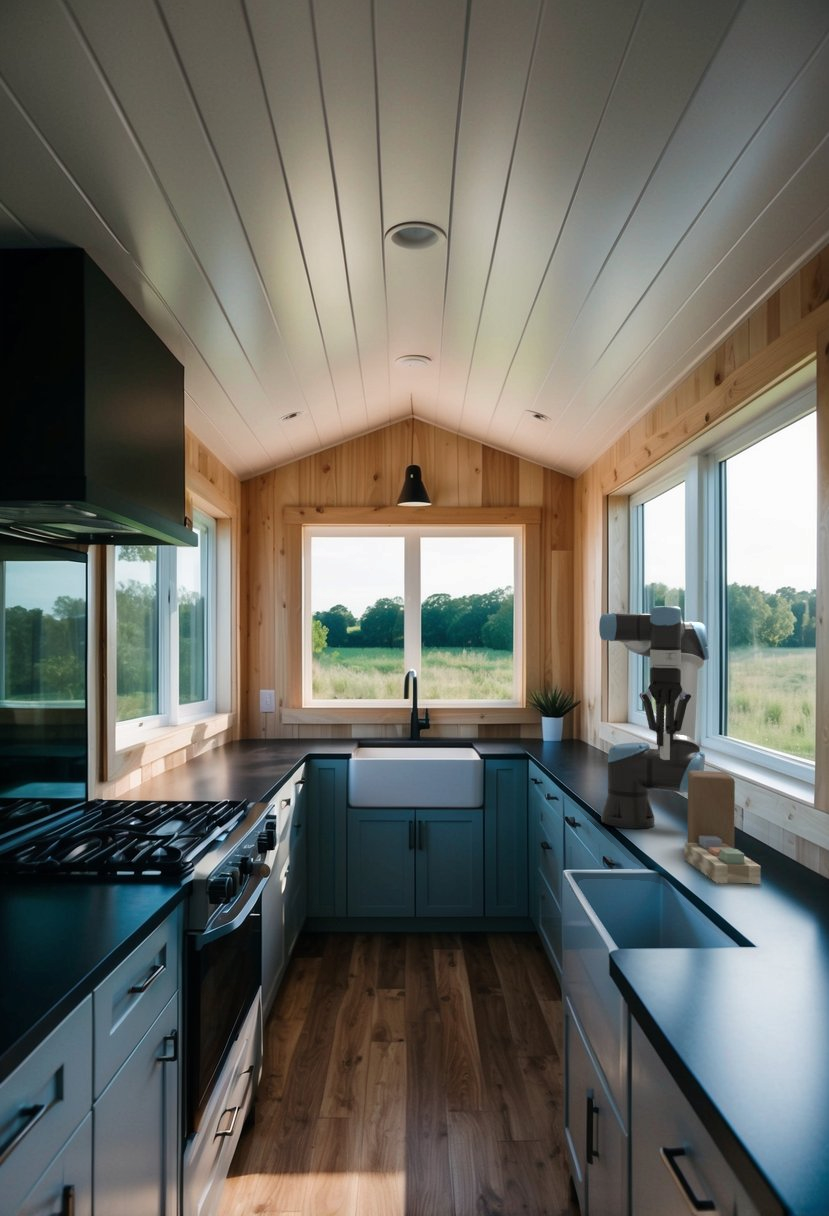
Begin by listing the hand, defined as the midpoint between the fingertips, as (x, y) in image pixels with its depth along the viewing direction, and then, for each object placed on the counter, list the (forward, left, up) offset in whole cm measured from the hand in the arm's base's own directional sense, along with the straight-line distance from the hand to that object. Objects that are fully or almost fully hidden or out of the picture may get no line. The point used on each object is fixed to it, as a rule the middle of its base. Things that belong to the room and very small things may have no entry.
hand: (664, 758), depth 199 cm
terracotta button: (+16, +8, -23) cm, 29 cm away
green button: (+22, +8, -21) cm, 32 cm away
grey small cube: (+10, +8, -21) cm, 25 cm away
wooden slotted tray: (+16, +8, -24) cm, 29 cm away
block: (0, +12, -24) cm, 27 cm away
